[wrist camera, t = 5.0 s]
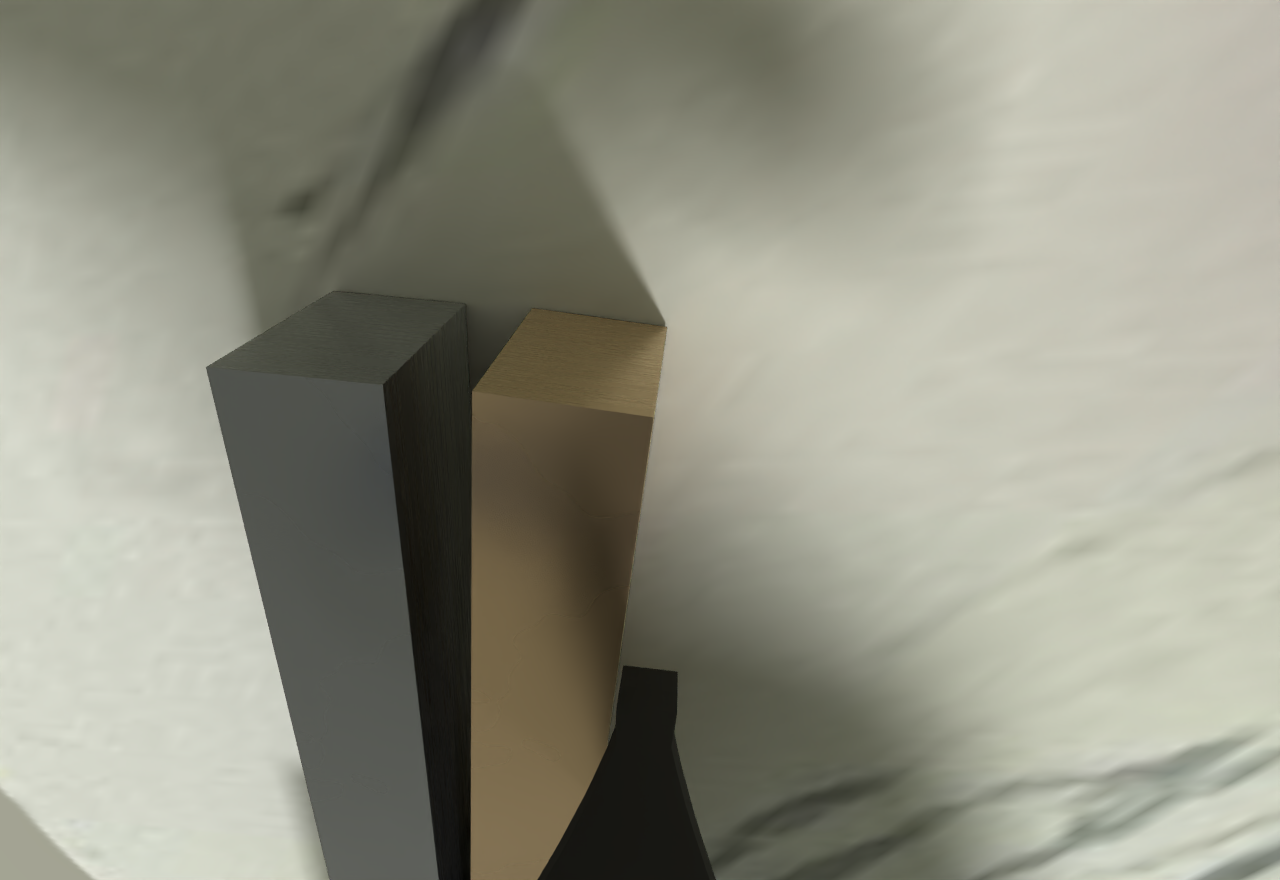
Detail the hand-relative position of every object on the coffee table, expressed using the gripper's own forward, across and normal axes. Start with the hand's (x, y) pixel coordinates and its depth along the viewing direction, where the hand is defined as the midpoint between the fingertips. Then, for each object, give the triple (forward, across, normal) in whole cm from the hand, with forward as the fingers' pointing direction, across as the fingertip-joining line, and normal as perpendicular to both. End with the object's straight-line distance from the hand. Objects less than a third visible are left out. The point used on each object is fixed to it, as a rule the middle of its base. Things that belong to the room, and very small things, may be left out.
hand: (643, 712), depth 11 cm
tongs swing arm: (+2, +2, +1) cm, 3 cm away
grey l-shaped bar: (+2, +3, +4) cm, 5 cm away
